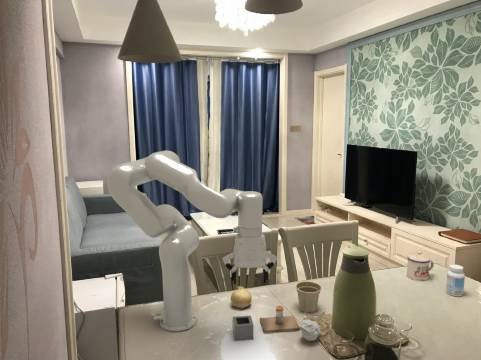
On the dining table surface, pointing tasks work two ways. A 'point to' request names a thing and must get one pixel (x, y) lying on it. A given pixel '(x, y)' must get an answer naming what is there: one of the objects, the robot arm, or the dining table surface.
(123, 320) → the dining table surface
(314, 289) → the flower pot
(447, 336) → the dining table surface
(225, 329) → the dining table surface
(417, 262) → the teacup with lid
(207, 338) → the dining table surface
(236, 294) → the onion
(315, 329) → the crumpled paper ball
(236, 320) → the link
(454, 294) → the pill bottle
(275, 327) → the keeper
